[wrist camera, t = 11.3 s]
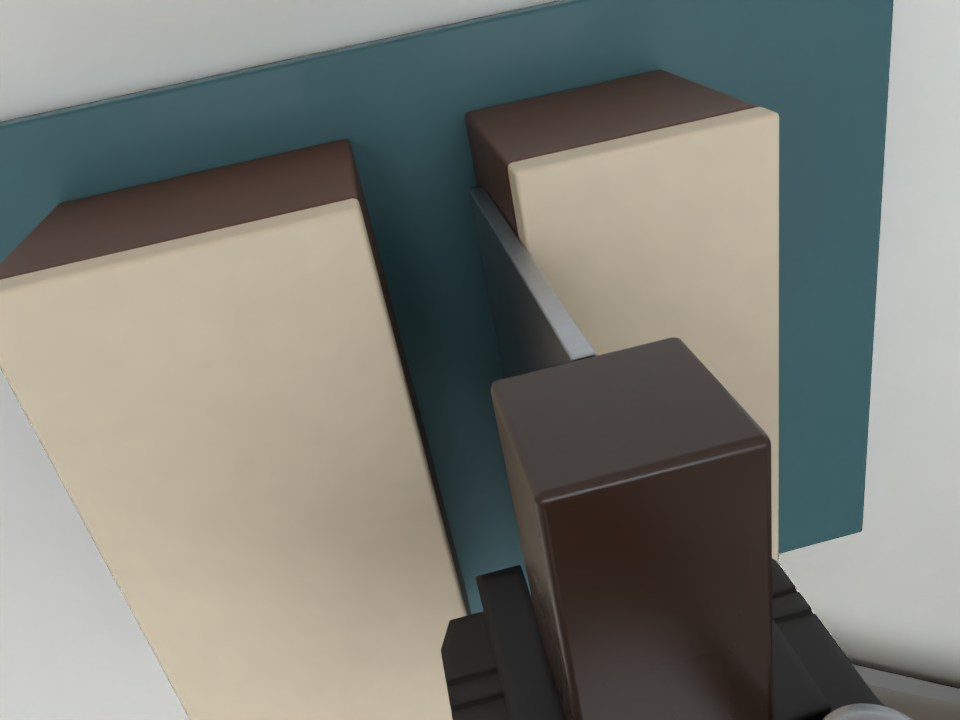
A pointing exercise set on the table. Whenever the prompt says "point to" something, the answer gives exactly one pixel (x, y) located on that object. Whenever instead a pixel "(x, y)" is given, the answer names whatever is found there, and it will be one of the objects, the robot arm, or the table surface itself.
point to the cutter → (630, 508)
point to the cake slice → (651, 221)
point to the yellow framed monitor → (913, 695)
